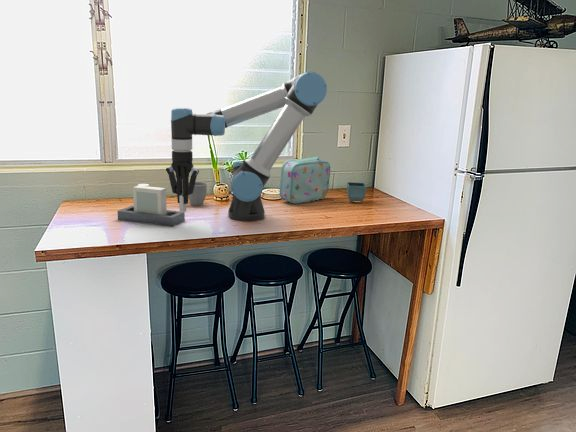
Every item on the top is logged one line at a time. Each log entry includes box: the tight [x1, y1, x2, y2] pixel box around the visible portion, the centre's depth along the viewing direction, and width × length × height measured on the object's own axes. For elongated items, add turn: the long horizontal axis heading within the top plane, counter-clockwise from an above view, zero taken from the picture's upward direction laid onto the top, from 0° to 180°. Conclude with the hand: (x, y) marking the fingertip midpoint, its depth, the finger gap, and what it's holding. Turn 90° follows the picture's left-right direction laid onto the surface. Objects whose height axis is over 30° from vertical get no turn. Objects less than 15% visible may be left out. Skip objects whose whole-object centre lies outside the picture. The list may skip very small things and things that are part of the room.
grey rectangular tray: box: [117, 205, 186, 227], centre depth 185 cm, size 24×10×4 cm, turn 74°
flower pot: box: [346, 181, 368, 202], centre depth 230 cm, size 9×9×9 cm
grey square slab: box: [132, 184, 167, 215], centre depth 184 cm, size 12×4×12 cm, turn 74°
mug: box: [188, 181, 208, 207], centre depth 213 cm, size 12×9×10 cm
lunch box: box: [279, 156, 331, 205], centre depth 227 cm, size 27×10×21 cm, turn 133°
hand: (183, 211), depth 181 cm, fingers closed
